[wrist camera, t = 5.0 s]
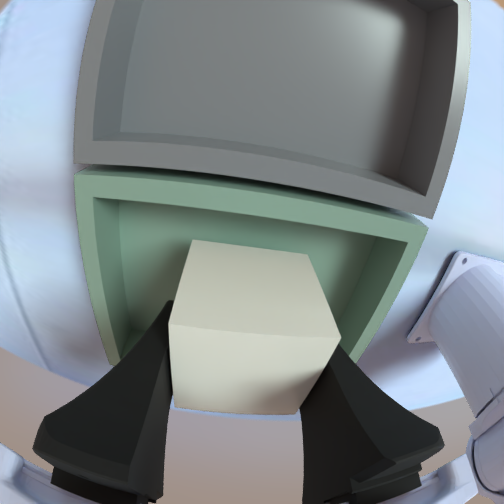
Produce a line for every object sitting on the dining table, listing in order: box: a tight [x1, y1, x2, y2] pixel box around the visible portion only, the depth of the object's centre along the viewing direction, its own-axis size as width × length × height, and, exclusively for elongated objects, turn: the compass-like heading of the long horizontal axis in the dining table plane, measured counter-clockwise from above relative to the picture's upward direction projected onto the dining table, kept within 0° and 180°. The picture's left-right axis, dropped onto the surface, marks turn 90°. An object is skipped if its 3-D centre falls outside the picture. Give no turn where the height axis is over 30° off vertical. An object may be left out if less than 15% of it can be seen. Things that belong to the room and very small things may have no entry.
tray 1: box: [74, 0, 471, 219], centre depth 7 cm, size 14×11×3 cm
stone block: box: [168, 240, 341, 415], centre depth 10 cm, size 5×5×5 cm
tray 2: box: [74, 164, 429, 366], centre depth 13 cm, size 14×11×3 cm
